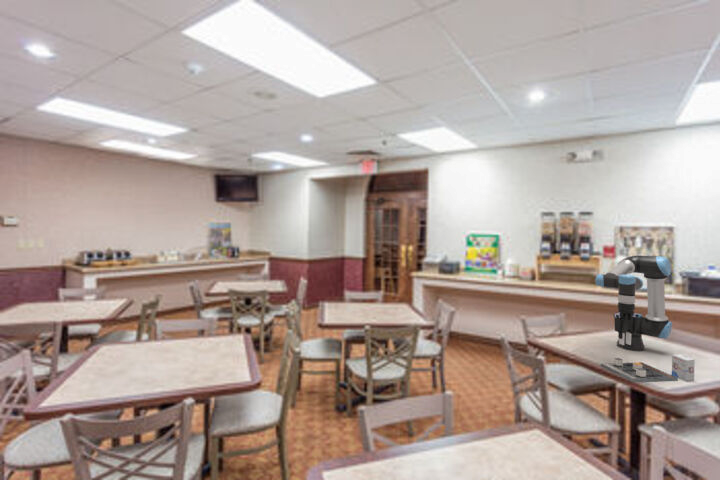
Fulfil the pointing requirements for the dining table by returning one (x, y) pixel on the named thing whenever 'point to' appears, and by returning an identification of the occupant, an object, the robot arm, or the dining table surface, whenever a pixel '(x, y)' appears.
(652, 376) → the panel
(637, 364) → the breaker mid
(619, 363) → the breaker
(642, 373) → the breaker
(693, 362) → the ink box
